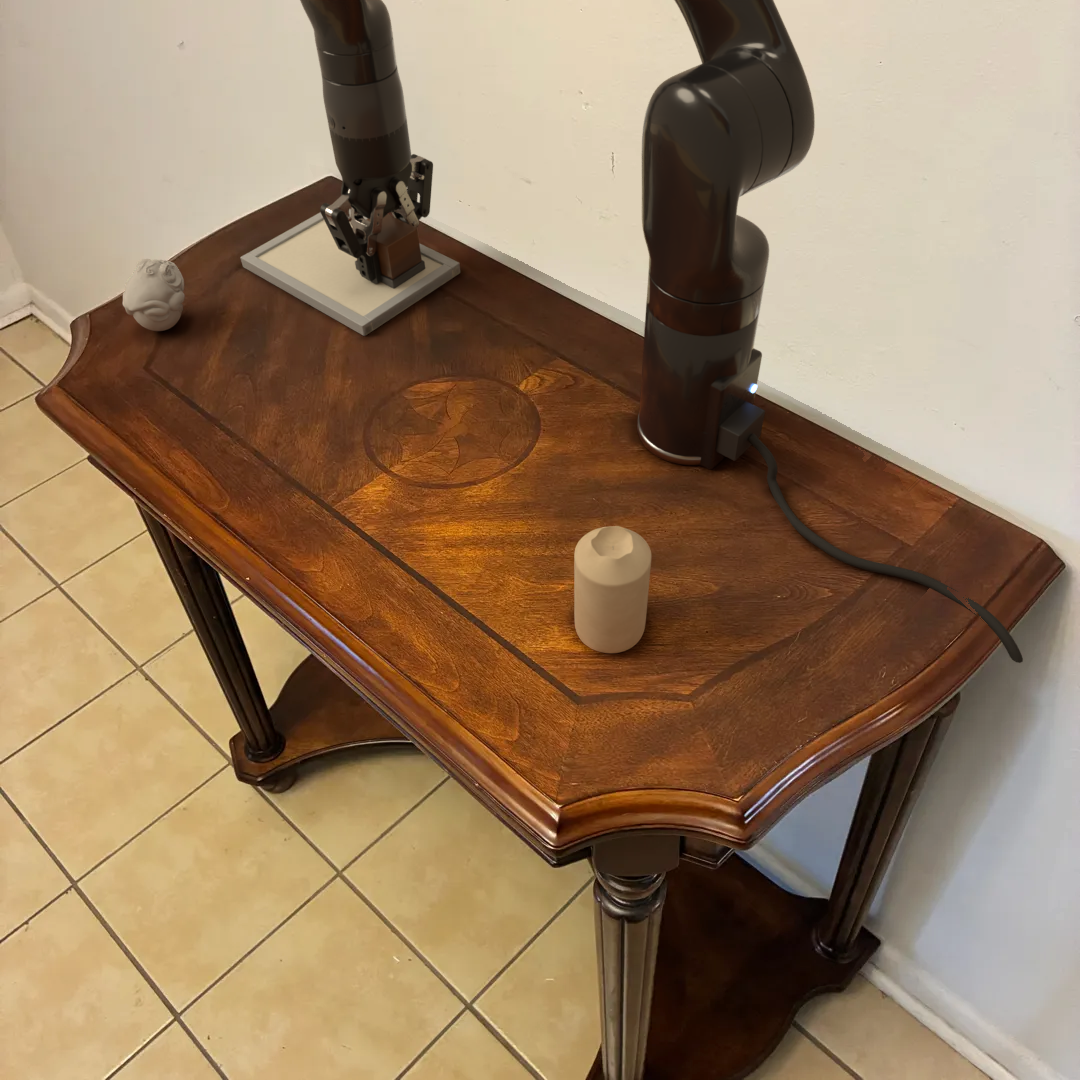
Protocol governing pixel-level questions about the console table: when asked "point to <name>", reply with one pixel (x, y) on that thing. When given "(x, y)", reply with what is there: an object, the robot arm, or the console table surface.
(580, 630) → the candle
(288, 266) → the whiteboard
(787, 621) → the console table surface
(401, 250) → the eraser
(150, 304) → the frog figurine
